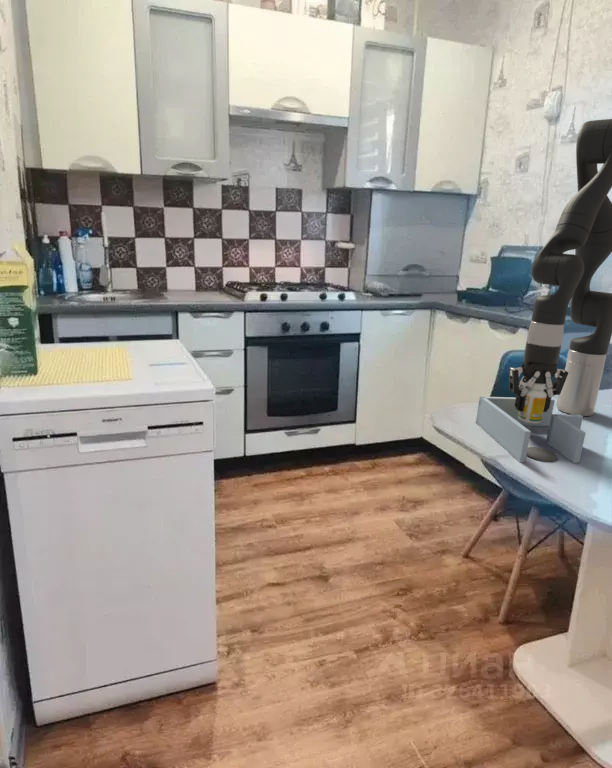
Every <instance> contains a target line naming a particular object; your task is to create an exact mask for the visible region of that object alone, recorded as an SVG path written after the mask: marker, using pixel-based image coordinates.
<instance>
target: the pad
mask: <svg viewBox="0 0 612 768" xmlns="http://www.w3.org/2000/svg"><path fill="white" fill-rule="evenodd" d="M526 457H527V458H530V459H533V460H535V461H540V462H548V463H549V462H551V463H552V462H556V461H557V460H558V454H556V452H554V451H552V450H549V449H547V448H543V447H537V446H528V449H527V455H526Z"/></svg>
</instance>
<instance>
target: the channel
mask: <svg viewBox="0 0 612 768" xmlns="http://www.w3.org/2000/svg"><path fill="white" fill-rule="evenodd" d="M515 400H516V397H513V396H512V397H511V396H509V397H507V396H505V397H504V396H479V399H478V405H477V413H476V418H475V424H476V425H478V426H479V427H480V428H481V429H482V430H483V431H484V432H485V433H487V434H488V435H489V436H490V437H491V439H493V440H494V441H496V442H497V443H498V444H499V445H500V446H501V447H502V448H503V449H505V451H507V452H508V453H509V454H510V455H511V456H512V457H513V458H515V459H516V460H517V462H519V463H526V459H527V456H526V455H527V449H528V447H529V443H530V438H531V432H532V431H531V430H530V429H528V428H527V426H530V427H531V426H533V427H548V431H547V435H546V441H545V442H546V444H548V445H549V446H550V447H552V448H553V449H554V450H556V451H558V452H559V454H561V455H562V456H564V457H565V458H566V459H568V460H569V461H571V462H572V463H573V464H580V460H581V455H582V451H583V446H584V442H585V438H586V431H584V430H582V429H581V428H582V425H583V420H584V419H583V418H584V416H581V415H573V414H567V413H565V414H561V413H560V414H559V413H556V414H555V413H553V411H554V407H555V399H554V398H551V402H550V407H549V409H548V410H547V412H543V416H542V421H541V422H540V423H537V424H534V423H526V422H523V421H521V420H519V418H518V414H519V411H518V410H517V409H516V407H515ZM525 426H526V427H525Z"/></svg>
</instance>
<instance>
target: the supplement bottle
mask: <svg viewBox="0 0 612 768" xmlns="http://www.w3.org/2000/svg"><path fill="white" fill-rule="evenodd" d="M545 386H546V384H537V383H534V384H533V385H532V387H531V388H530V389H529V390H528V391H527V393H526V395H525V397H526V398H525V403H524V409H523V411H519V414H518V418H519V420H521V421H523V422H526V423H534V424H537V423H540V422H541V421H542V416H543V411H544V406H545V402H546V397H547V395H546V393H545V392H544V391H543V390H544V389H545Z"/></svg>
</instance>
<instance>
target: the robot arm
mask: <svg viewBox="0 0 612 768" xmlns="http://www.w3.org/2000/svg"><path fill="white" fill-rule="evenodd" d="M575 151H576V152H575V157H576V158H575V160H576V162H575V163H576V178H577V179H576V180H577V183H576V184H577V193H575V194H574V195H573V196H572V197H571V198H570V200H569V201H568V202H567V203H566V205H565V207H564V208H563V210H562V212H561V215H560V217H559V220H558V223H557V225H556V228H555V230H554V232H553V234H552V235H551V236H550V238H549V239H548V241H547V242H546V243H545V244H544V246H543V247H542V249H541V250H540V251H539V252H538V254H537V255H536V257H535V259H534V261H533V263H532V266H531V276H532V279H533V281H534V282H536V283H537V284H540V285H548V286H556V287H557V286H558V288H557V290H556V291H555V293H553V294H548V295H545V294H544V295H539V296H538V297H536V298H535V301H534V305H533V309H532V315H531V321H530V323H529V324H530V325H529V328H528V330H527V336H526V340H525V341H526V343H525V348H524V352H523V354H524V355H523V363H522V364H521V365H520V367H513V366H512V367H509V368H508V389H509V392H511V393H513V394H515V398H516V400H515V407H516V409H517V410H518V411H523V409H524V403H525V398H526V397H525V395H526V393H527V391H528V390H529V389H530V388H531V387H532V385H533V384H534V383H537V384H546V386H545V389H544V390H543V391H544V392H545V393H546V395H547V397H546V402H545V406H544V411H543V412H547V410H548V409H549V407H550V402H551V399H553V398H552V397H554V396H557V401H556V406H557V409H558V410H559V411H561V412H563V413H565V414H568V415H581V416H583V417H590V416H593V415H594V412H595V408H596V405H597V400H598V396H599V390H600V386H601V381H602V379H603V378H602V377H603V373H604V370H605V369H604V368H605V363H606V358H607V356H608V355H607V354H608V348H609V346H610V343H611V339H612V292H606V291H605V292H603V291H596V290H591V287H590V286H591V282H592V278H593V276H594V275H595V273H596V272H597V270H598V269H599V267H601V265H603V264H604V262H605V261H606V260H607V259H608V257H610V255H611V254H612V200H611V199H610V197H609V196H608V194H609V192H610V191H611V189H612V118H606V119H594V120H593V119H592V120H588V121H585V122H584V123H582V124H581V127H580V129H579V130H578V134H577V138H576V147H575ZM598 164H600V165H601V164H602V166H601V168H599V171H598ZM573 250H575V253H574V254H573V253H572V254H571V253H565V252H568V251H573ZM569 305H570V310H569V311H570V313H569V314H570V319H571V321H572V323H573V324H577V325H580V326H581V325H582V326H587V327H588V326H589V327H594V328H596V329H595V331H594V332H593V333H592V334H589V335H586V336H579V337H574V338H572V339H571V340H570V343H569V346H568V347H569V348H568V352H567V353H568V354H567V356H566V357H567V358H566V364H565V368H564V369H563V368H558V367H557V365H558V363H559V359H560V355H561V354H560V353H561V348H562V343H563V338H564V334H565V333H564V331H565V330H564V329H565V321H566V318H567V311H568V308H569ZM521 374H522V375H523V376H522V378H521V379H520V381H519V378H520V377H521ZM553 377H554V379H553V382H552V378H553Z"/></svg>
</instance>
